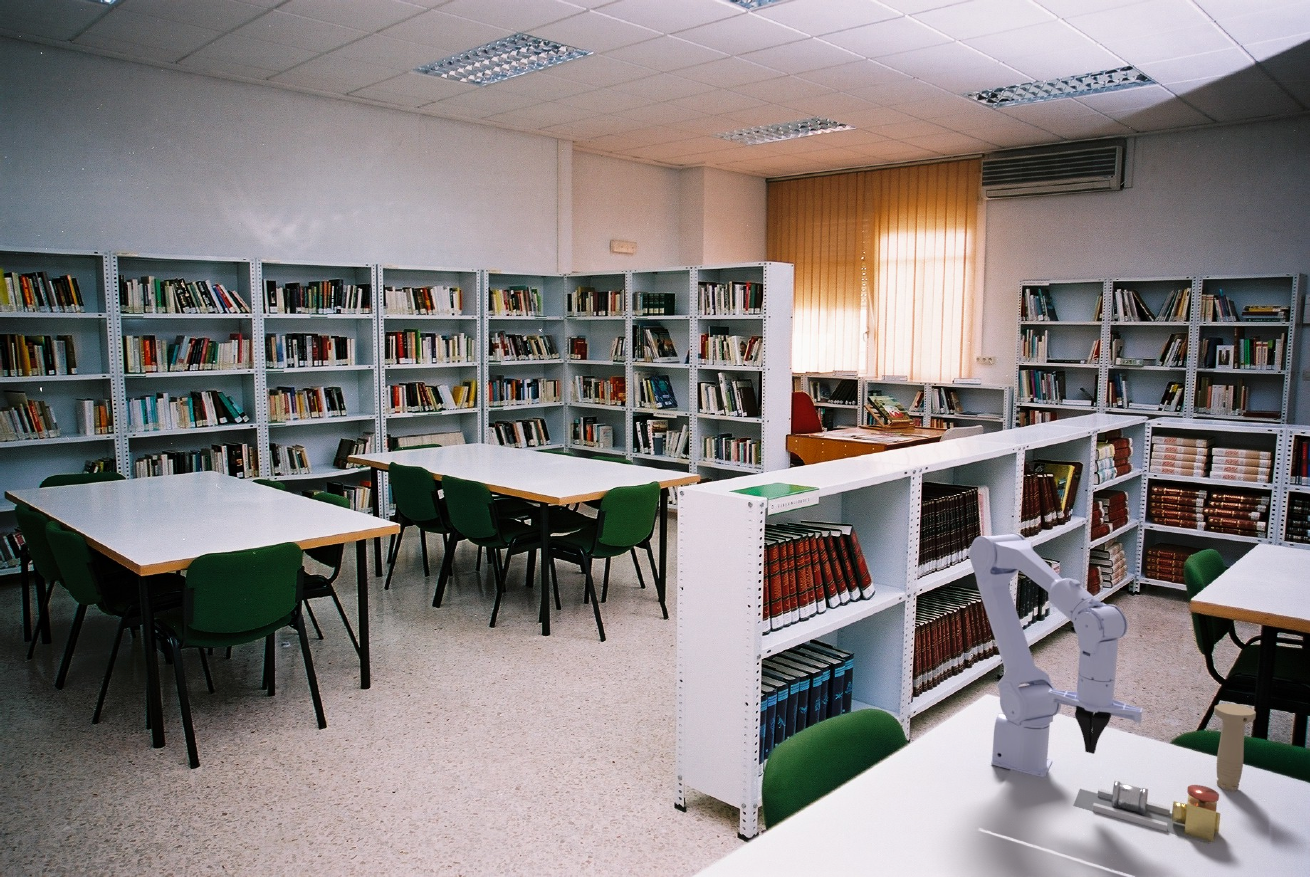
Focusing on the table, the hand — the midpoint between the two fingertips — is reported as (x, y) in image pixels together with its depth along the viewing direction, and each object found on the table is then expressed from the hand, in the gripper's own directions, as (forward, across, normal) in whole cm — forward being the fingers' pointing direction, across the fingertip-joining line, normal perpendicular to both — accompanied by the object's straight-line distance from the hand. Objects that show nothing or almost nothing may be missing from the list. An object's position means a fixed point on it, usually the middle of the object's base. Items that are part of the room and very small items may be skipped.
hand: (1090, 750), depth 155 cm
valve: (+9, +17, 0) cm, 19 cm away
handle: (+10, +20, +20) cm, 30 cm away
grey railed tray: (+9, +8, 0) cm, 13 cm away
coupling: (+9, +6, 0) cm, 11 cm away
